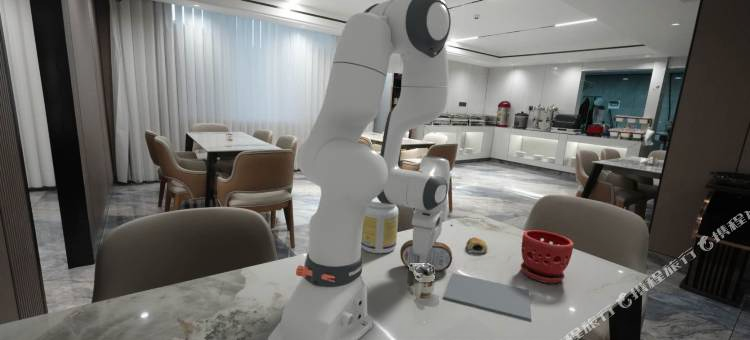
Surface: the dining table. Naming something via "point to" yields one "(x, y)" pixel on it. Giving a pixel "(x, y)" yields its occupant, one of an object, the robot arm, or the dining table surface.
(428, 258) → the tin
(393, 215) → the supplement tub
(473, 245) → the pastry
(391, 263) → the dining table surface
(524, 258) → the plant pot
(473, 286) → the mat
